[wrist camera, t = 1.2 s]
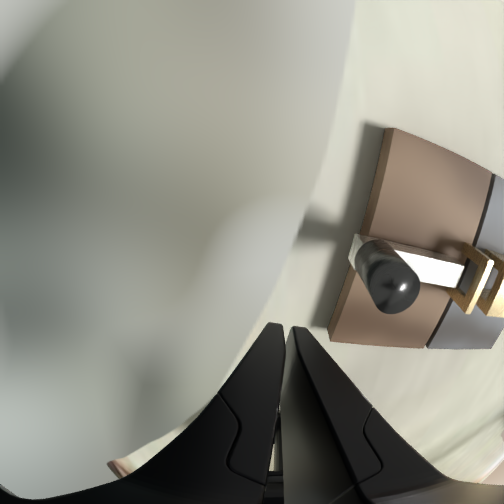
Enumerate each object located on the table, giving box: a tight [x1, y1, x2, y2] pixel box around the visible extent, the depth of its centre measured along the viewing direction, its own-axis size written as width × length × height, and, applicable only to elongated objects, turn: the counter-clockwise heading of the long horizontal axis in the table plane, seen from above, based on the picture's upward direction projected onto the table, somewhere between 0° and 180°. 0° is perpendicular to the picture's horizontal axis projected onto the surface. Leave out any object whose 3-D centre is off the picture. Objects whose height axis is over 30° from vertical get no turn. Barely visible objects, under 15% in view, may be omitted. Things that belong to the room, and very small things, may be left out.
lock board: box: [327, 128, 504, 349], centre depth 17 cm, size 15×19×2 cm
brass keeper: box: [445, 242, 504, 318], centre depth 15 cm, size 4×7×3 cm, turn 81°
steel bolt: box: [348, 233, 465, 314], centre depth 14 cm, size 2×8×5 cm, turn 80°
